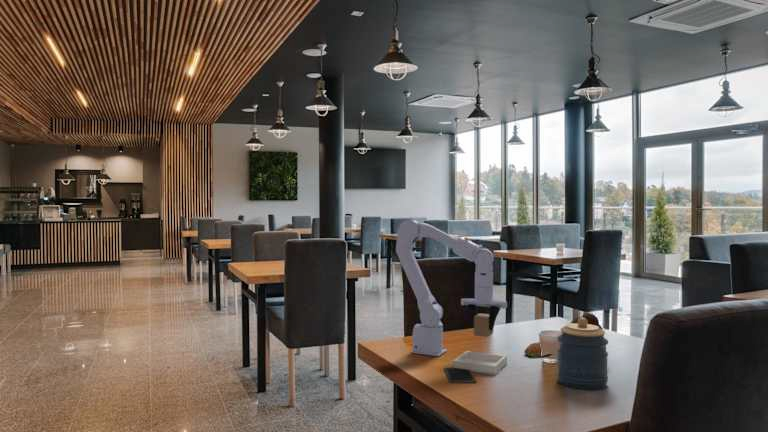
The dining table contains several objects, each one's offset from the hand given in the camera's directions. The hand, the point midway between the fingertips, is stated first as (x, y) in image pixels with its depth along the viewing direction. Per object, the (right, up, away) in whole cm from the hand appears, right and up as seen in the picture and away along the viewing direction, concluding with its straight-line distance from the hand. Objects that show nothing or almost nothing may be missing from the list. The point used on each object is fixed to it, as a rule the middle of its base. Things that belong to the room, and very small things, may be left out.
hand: (483, 329), depth 176 cm
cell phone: (-10, -9, -21) cm, 25 cm away
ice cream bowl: (+31, -9, -5) cm, 32 cm away
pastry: (+18, -9, +3) cm, 21 cm away
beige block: (0, -2, 0) cm, 2 cm away
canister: (+22, -9, -27) cm, 36 cm away
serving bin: (-3, -9, -12) cm, 15 cm away
